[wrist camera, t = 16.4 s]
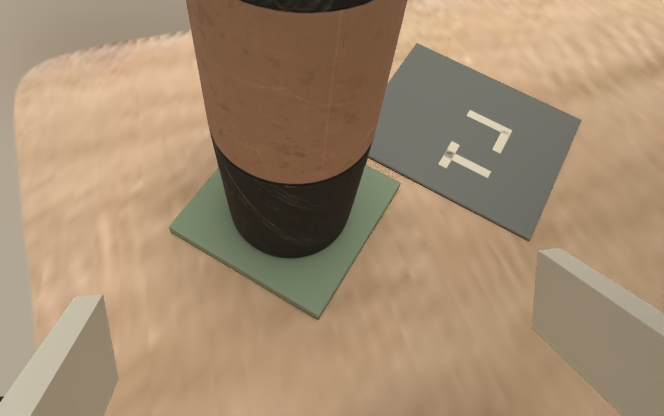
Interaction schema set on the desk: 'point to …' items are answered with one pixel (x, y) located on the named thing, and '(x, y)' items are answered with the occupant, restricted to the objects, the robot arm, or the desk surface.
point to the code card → (472, 139)
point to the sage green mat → (275, 272)
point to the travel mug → (293, 109)
